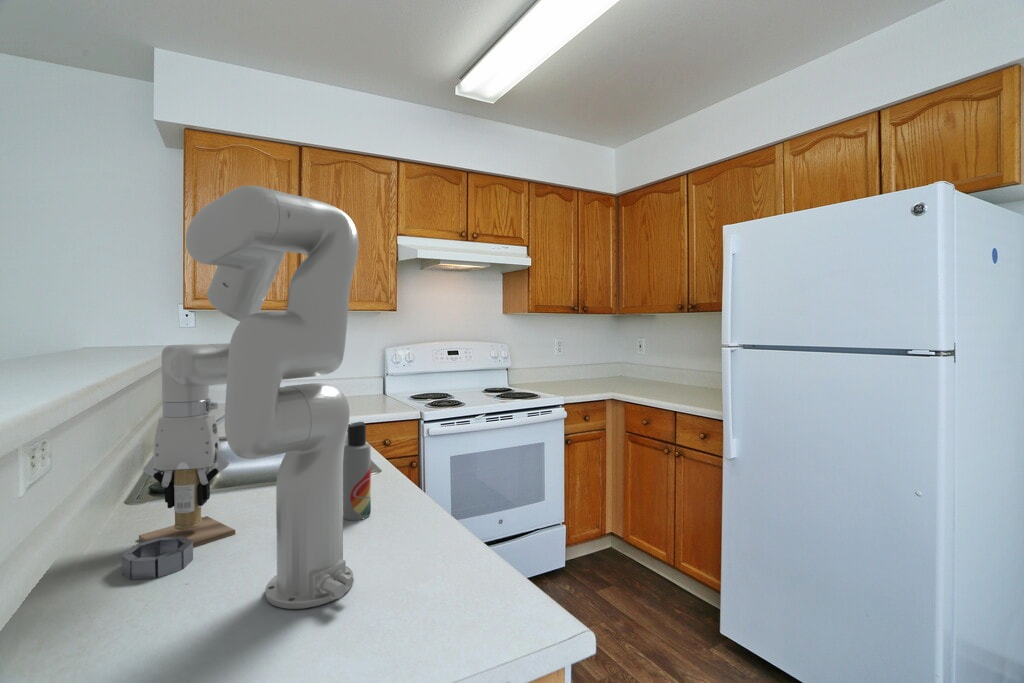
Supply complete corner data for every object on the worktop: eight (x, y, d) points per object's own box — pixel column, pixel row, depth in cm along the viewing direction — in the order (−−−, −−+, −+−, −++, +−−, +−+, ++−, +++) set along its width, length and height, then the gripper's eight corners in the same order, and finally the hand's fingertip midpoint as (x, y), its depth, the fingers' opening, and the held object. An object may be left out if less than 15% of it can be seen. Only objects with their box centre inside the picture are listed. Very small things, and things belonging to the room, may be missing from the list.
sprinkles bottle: (207, 522, 99) (206, 453, 99) (190, 531, 95) (189, 459, 94) (185, 521, 100) (185, 453, 99) (167, 530, 95) (166, 458, 95)
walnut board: (235, 534, 99) (235, 529, 99) (165, 556, 89) (164, 552, 89) (207, 519, 106) (206, 516, 106) (138, 539, 96) (138, 535, 96)
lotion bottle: (374, 517, 108) (374, 423, 107) (347, 523, 104) (347, 426, 104) (365, 509, 112) (365, 419, 112) (339, 514, 109) (339, 422, 109)
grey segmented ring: (200, 563, 87) (200, 545, 86) (136, 585, 79) (136, 566, 79) (177, 548, 92) (177, 532, 92) (115, 568, 85) (115, 550, 84)
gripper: (240, 405, 102) (241, 495, 103) (144, 408, 98) (146, 501, 99) (229, 411, 95) (231, 507, 95) (125, 414, 91) (127, 515, 91)
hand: (187, 503), depth 97 cm, fingers closed on sprinkles bottle, 4 cm apart
